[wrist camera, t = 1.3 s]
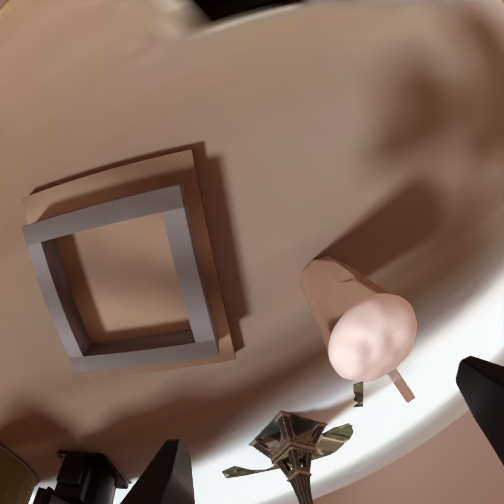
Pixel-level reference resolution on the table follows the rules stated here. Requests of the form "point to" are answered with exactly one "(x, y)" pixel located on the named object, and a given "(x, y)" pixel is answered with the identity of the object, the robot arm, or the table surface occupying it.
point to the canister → (15, 479)
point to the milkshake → (359, 322)
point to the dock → (130, 268)
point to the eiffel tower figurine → (298, 447)
